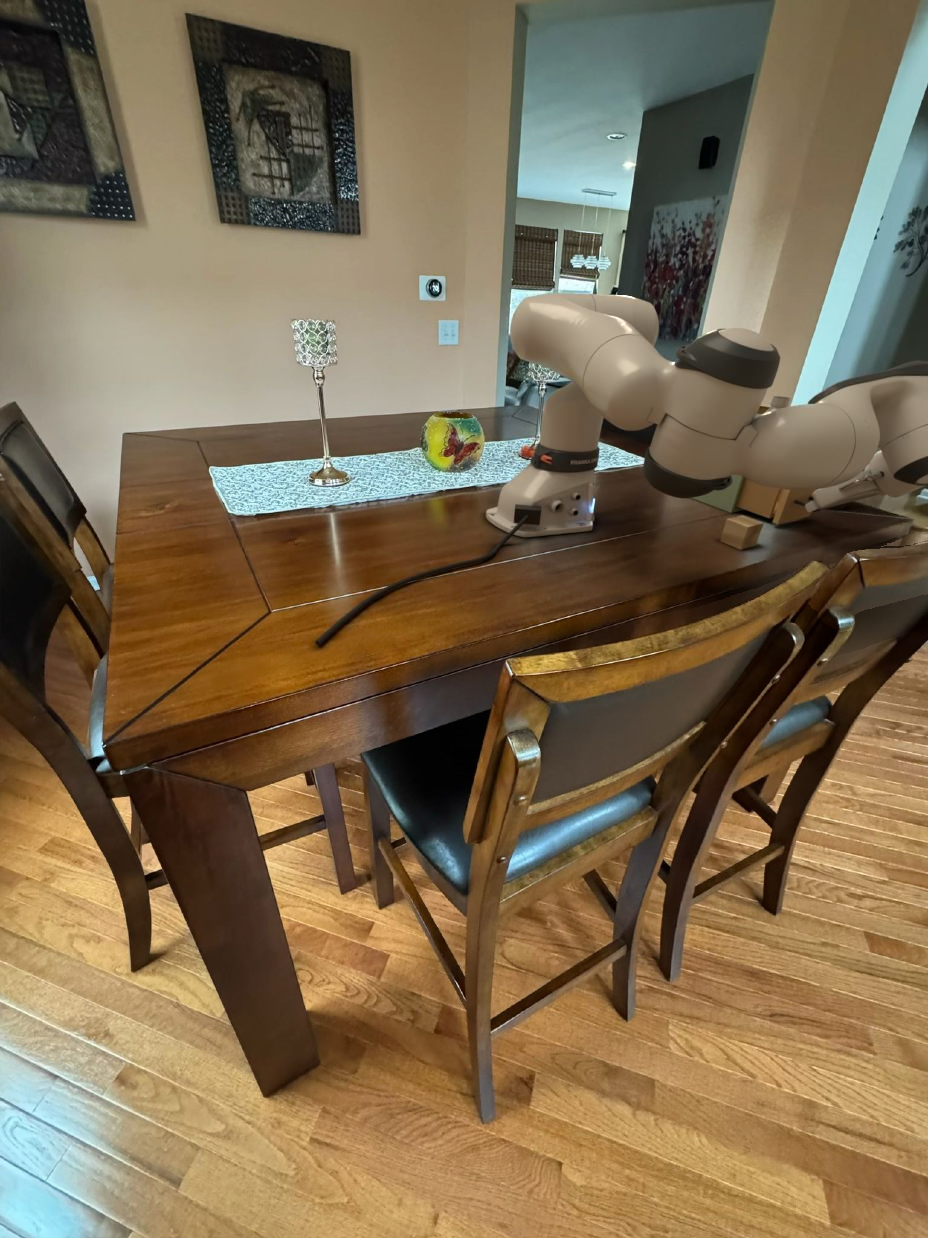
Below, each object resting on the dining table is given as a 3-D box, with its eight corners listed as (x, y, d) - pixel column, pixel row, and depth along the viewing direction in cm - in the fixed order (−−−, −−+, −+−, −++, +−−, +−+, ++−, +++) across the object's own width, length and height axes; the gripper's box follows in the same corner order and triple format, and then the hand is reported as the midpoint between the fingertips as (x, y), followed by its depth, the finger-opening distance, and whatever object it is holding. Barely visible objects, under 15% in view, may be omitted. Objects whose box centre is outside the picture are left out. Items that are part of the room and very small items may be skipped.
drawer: (833, 523, 109) (849, 486, 105) (801, 532, 104) (816, 493, 100) (753, 496, 123) (764, 462, 119) (720, 503, 118) (731, 468, 113)
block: (740, 550, 98) (748, 526, 96) (719, 541, 101) (726, 518, 99) (755, 545, 100) (763, 523, 98) (734, 537, 103) (742, 515, 101)
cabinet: (766, 504, 121) (781, 462, 116) (731, 512, 115) (744, 468, 110) (712, 486, 132) (724, 446, 127) (677, 492, 126) (687, 451, 121)
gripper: (872, 494, 88) (794, 528, 100) (932, 479, 97) (854, 512, 109) (856, 460, 89) (781, 498, 101) (917, 448, 98) (841, 484, 110)
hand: (819, 505), depth 105 cm, fingers closed on drawer, 6 cm apart
